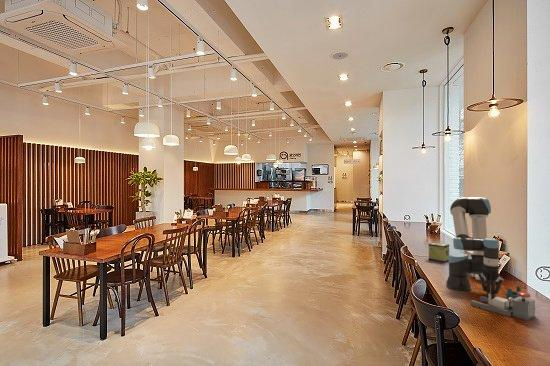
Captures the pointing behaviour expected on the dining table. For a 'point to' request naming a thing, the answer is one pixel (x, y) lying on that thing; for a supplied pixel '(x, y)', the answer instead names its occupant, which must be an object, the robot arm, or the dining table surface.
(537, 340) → the dining table surface
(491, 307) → the guide rails
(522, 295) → the button station
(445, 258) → the protein box
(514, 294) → the green irregular piece
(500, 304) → the cube with cylindrical stub
